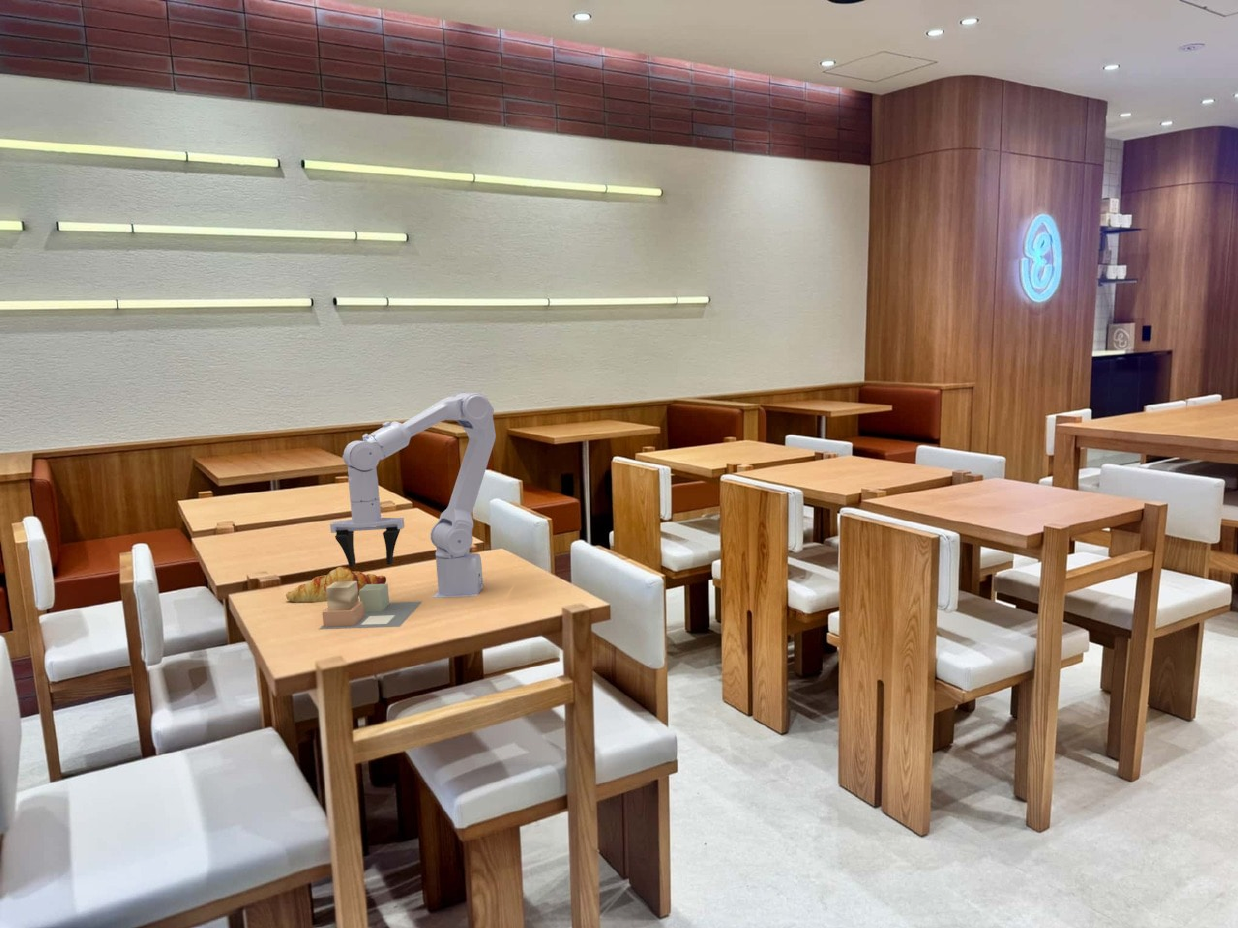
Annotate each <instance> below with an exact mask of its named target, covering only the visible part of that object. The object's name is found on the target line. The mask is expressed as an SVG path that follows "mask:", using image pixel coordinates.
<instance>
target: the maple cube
mask: <svg viewBox="0 0 1238 928" xmlns="http://www.w3.org/2000/svg"><path fill="white" fill-rule="evenodd" d="M326 595H327V601H326V604H327V608H328V610H351V609H352V608H353V607H354V606H356V605H357V604H358V603H359V602H360V598H359V595H358V588H357V581H341V582H334V583H332V584H331V585H330V586H328V587H327V588H326Z"/></svg>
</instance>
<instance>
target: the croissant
mask: <svg viewBox="0 0 1238 928" xmlns="http://www.w3.org/2000/svg"><path fill="white" fill-rule="evenodd" d="M341 581H357V588H358V596H359V590H360V589H361V588H363V587H364V586H365V585H366V584H386V582H387V577H386V576H384V575H379V576H377V575H376V574H372V573H367V574H365V573H363V572H362V571H352V570H351V569H350V568H349V567H345V566H338V567H336V568H335V569H332V570H331V571H329V572H328V574H327V575H321V576H316V577H314V578H313V579H312V580H311V581H307V583H303V584H300V585H298V586H297V587H295V588H294V589H293V590H290V591H288V592H286V594H285V597H286V600H287V601H289V602H292V603H321V602H322V603H323V602H327V595H326V588H327V587H328V586H330V585H331V584H332V583H334V582H341Z"/></svg>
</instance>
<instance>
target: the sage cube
mask: <svg viewBox="0 0 1238 928" xmlns="http://www.w3.org/2000/svg"><path fill="white" fill-rule="evenodd" d="M358 599H359V602H363V604H364V612H373V611H383V610H384V609H385V608H386V607H387V606H388V605H389V603H390V599H389V587H388V583H385V584H366V585H365V586H364V587H363V588H361V589H360V590H359V595H358Z"/></svg>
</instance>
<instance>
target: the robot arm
mask: <svg viewBox="0 0 1238 928" xmlns="http://www.w3.org/2000/svg"><path fill="white" fill-rule="evenodd" d="M494 413H495V408H494V406H493V405H492V403H491V402H490V400H489V399H488V398H487V397H486V396H485V395H484V394H482V393H479V392H477V393H476V392H475V393H467V392H461V391H460V392H457V393H455V394H453V395H452V396H448V397H445V398H443V399H441V400H439V401H437V402H436V403H434V404H433V405H431V406H429V407H428V408H426V409H424V410H423V411H420V412H419V413H418V414H416V415H415V416H413V417H411V418H409V419H408V420H405V422H403V423H401V422H399V421H392V422H390V421H386V422H383V423H382V427H381V428H379V429H377V430H376V431H373V432H372V433H370V434H368V433H364V434H363V435H362V440H353V441H351V442H350V443H348V444H347V445H346V447H345V448H344V451H343V454H342V460H343V462H344V463H345V465H346V466H347V474H348V479H347V480H348V491H349V499H350V501H349V502H350V511H351V519H348V520H341V521H340V520H339V521H332V522H331V523H330V524H329V525H330V527H329V528H330V533H331V534H336V535H335V536H334V538H335V540H336V541H337V543H338V544H339V546H340V547H341V549H342V550H343V553H344V555H345V557H346V559H347V563H348V568H349V567H350V568H353V567H354V566H355V565H356V555H355V554H356V553H355V548H354V547H355V546H354V539H355V538H354V532H356V531H357V532H359V531H375V530H384V531H383V532H382V536H383V540H384V546H385V557H386V558H385V561H386V565H392V563H394V553H395V552H394V551H395V548H396V543H397V541H398V537H399V535H400V532H401V530H403V529H404V528H405V519H404V517H382V510H381V500H380V489H379V488H380V487H379V477H378V471H377V470H378V469H377V466H378V465H379V462H380V461H382V460H385V459H386V458H388V457H390V456H392V455H393V454H396V453H397V452H399V451H400V450H402V449H404V448H407V446H409V445H410V441H411V438H412V437H413V436H416V435H417V434H420V433H422V432H423V431H425V430H427V429H429V428H432V427H433V426H436V425H437V424H439V423H441V422H443V421H444V422H445V421H456V422H457V423H458V424H459V425H460V426H461V427H462V428H463V430H464V431H465V433H466V434H467V436H468V439H469V440H468V442H467V447H466V450H465V452H464V456H463V459H462V462H461V464H460V467H459V471H458V475H457V477H456V480H455V484H454V487H453V490H452V493H451V496H450V499H449V501H448V502H449V503H448V505H447V507H446V509H444V510H443V512H441V513H440V517H439V520H438V521H437V523H435V524H434V526H433V527H432V528H431V532H430V541H431V543H432V544H433V546H435V547H436V550H435V563H436V575H437V587H438V589H437V590H438V591H437V592H436V593H435V594H434V595H433V598H434V599H435V598H458V597H459V598H463V597H477V596H478V595H480V593H481V591H482V589H483V588H484V581H483V566H482V559H481V554H480V553H478V552H477V553H476V552H470V550H471V548H472V545H473V529H474V519H473V516H472V514H473V511H474V507H475V504H476V501H477V498H478V495H479V491H480V489H481V485H482V483H483V482H482V481H484V480H483V479H484V476H485V474H486V473H485V472H486V471H487V466H488V464H489V460H490V457H491V455H492V451H493V448H494V445H495V441H496V437H497V435H496V433H497V432H496V429H495V427H496V426H495V422H494V416H493V415H494Z"/></svg>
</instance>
